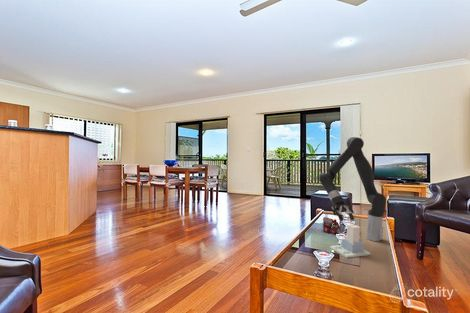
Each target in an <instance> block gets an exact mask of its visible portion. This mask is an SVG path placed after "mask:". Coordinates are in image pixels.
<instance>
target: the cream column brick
mask: <svg viewBox="0 0 470 313" xmlns="http://www.w3.org/2000/svg"><path fill="white" fill-rule="evenodd" d="M346 227H347V228H346V238H345V239H346V240H347V241H349V242H351V243H358V242H359V241H360V235H361V234H360V233H361V227H360V226H359V225H356V224H347V226H346Z"/></svg>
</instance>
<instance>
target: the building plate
mask: <svg viewBox="0 0 470 313" xmlns="http://www.w3.org/2000/svg"><path fill="white" fill-rule="evenodd" d="M329 248H330V249H331V250H332V251H334V252H335V253H337V254H339V255H341V256H342V257H344V258H346V259H348V258H355V257H363V256H371V252H369V251H368V250H366V249H365V242H362V241H360V240H359V242H358V243H351V242H349V241H347V240H346V238H341V243H340V244H336V245H329Z"/></svg>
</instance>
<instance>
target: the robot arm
mask: <svg viewBox="0 0 470 313" xmlns="http://www.w3.org/2000/svg"><path fill="white" fill-rule="evenodd" d="M364 144H365V143H364V140H363V139H362V138H361V137H356V136H354V137H349V138H348V139H347V141H346V147H347V148H346V149H345V151H344V152H342V153H341V154H340V155H339V156H338V157H337V158H335V160H333V162H332V163H331V164H330V165H329V167H328V168H327V170H328V172H327V173H326V172H322V173H320V174H319V177H318V178H319V182H320V183H321V185H322V186H323V188H324V189H325V191H326V193H327V195H328V198H329V200H330V202H331V204H332V206H331V207H330V209H331V211H332V212H333V213H332V214H333V216H337V218H338V220H339V221H341V222H343V221H344V217H343V216H342V213H344V214H347V215H348V217H349V219H350V220H351V221H354V220H355V217H354V215H353V214H354V212H355V211H354V210H353V208H352V206H351V205H350V204H348V205H346V202H345V200H344V198H343V196H342V195H341V193H340V191H339V190H338V188H337V186H336V184H335V183H333V182H334V180H335V178H336V176H337V175H338V173H339V172H340V171H341V169H342V168H343V167H344V166H345V165H346V164H347V163H348V161H350V160H351V158H353V162H354V165H355V167H356V171H357V174H358V176H359V179H360V181H361V183H362V186H363V189H364V191H365V195H366V199H367V202H369V204H371V209H368V211H367V212H368V213H367V223H366V224H367V225H366V235H365V237H366V240H369V241H372V242H381V241H382V240H383V232H384V227H383V223H384V222H383V221H384V220H383V218H384V214H385V213H386V212H385V211H386V205H387V199H386V196H385V195H384V194H382V193H380V192H378V191H377V188H376V186H375V173H374V171H373V168H372V166H371V164H370V162H369V160H368V159H367V158H366V156H365V154H364V152H363V150H362V149H363V147H364ZM381 239H382V240H381ZM380 240H381V241H380Z"/></svg>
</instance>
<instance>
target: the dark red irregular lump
mask: <svg viewBox="0 0 470 313" xmlns="http://www.w3.org/2000/svg"><path fill="white" fill-rule="evenodd" d="M322 221H323V223H322V224H323V225H322V230H323V232H324V233H326V234H327V233H329V232H330V234H332V235H336V234H337V233H340V232H341V226H340V224H339V222H338V221H337V219H336V218H335V219H333V218H330V217H323V218H322ZM335 233H336V234H335Z"/></svg>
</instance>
